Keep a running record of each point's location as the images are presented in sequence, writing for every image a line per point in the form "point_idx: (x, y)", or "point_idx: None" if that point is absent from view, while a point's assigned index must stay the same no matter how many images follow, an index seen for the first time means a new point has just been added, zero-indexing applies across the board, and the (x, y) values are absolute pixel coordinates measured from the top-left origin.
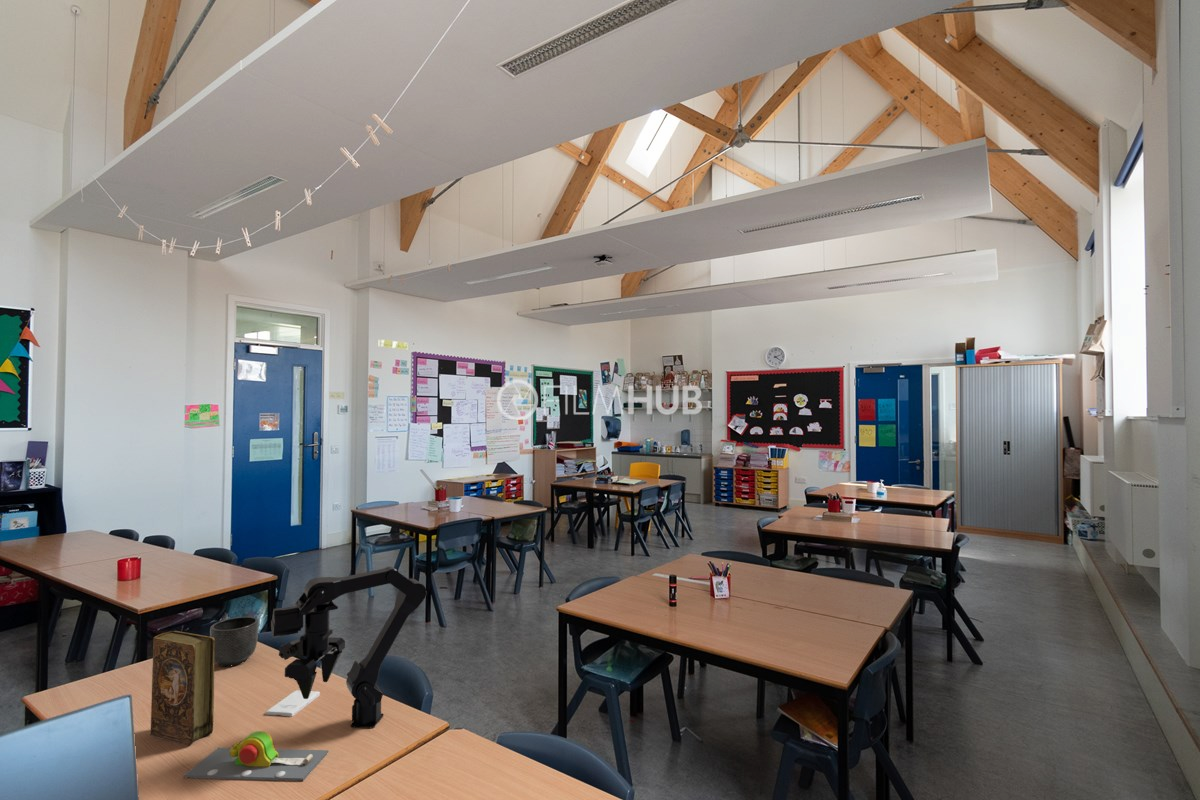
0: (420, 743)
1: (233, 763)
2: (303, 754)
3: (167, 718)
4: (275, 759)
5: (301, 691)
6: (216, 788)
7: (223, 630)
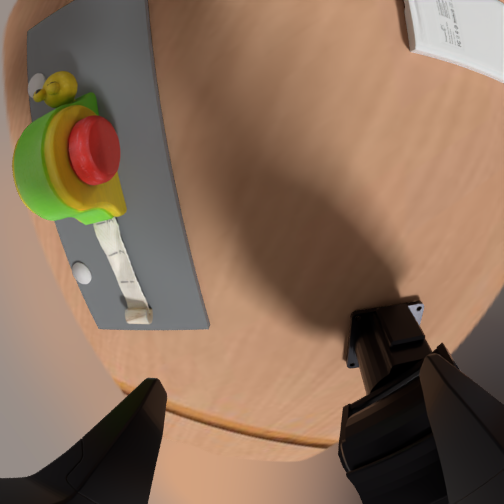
0: (286, 439)
1: None
2: (167, 274)
3: None
4: (106, 220)
5: (109, 418)
6: None
7: None
